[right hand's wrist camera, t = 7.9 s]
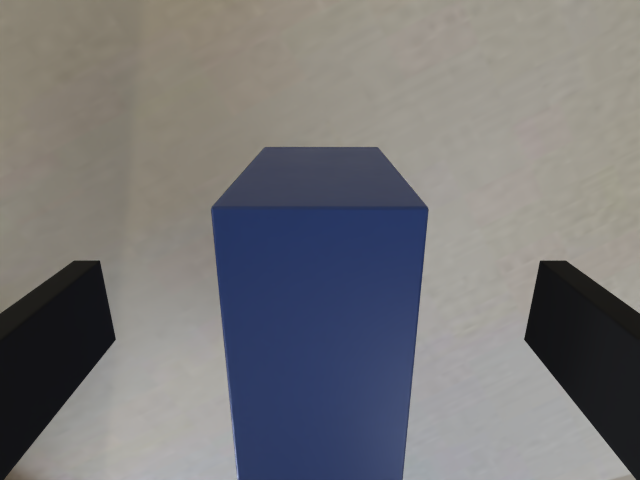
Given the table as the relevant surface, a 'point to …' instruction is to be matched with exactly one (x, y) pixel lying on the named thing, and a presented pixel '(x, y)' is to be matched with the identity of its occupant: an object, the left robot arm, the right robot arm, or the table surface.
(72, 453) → the table surface
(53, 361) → the right robot arm
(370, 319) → the bar
